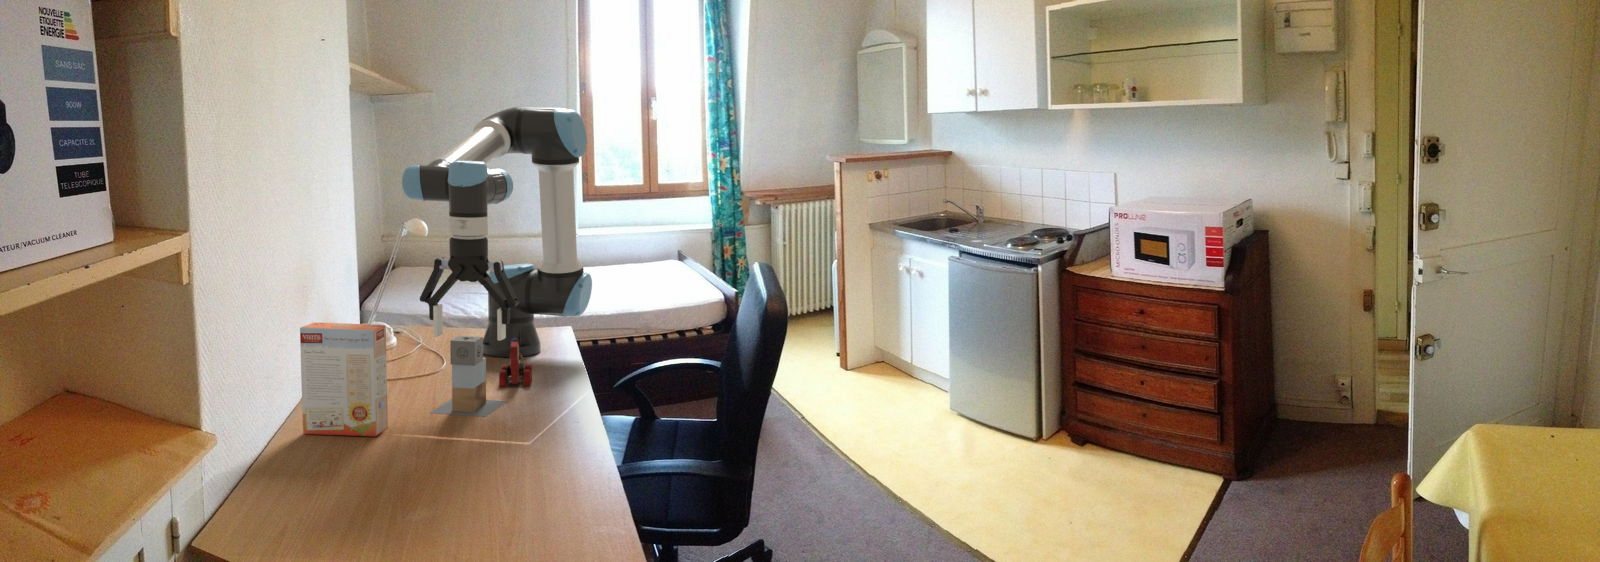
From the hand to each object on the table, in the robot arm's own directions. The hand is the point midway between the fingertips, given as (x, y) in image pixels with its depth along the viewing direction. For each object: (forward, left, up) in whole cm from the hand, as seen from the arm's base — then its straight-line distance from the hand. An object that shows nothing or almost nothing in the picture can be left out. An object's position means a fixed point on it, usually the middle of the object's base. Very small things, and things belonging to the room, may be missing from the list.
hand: (469, 337), depth 205 cm
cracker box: (+20, -16, -15) cm, 30 cm away
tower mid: (0, 0, -10) cm, 10 cm away
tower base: (0, 0, -15) cm, 15 cm away
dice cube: (+2, 0, -5) cm, 5 cm away
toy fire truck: (-22, +2, -16) cm, 27 cm away
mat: (0, 0, -15) cm, 15 cm away
